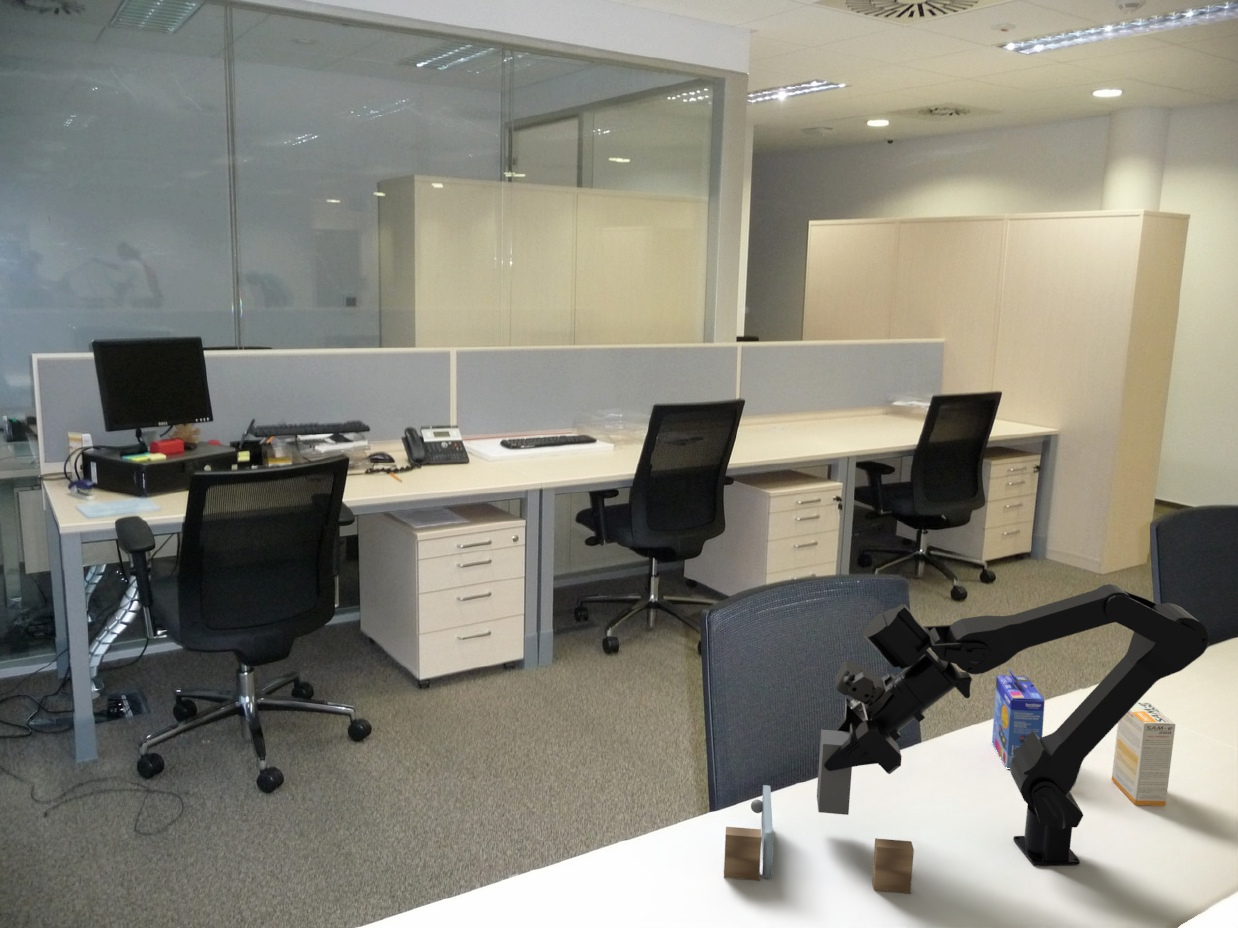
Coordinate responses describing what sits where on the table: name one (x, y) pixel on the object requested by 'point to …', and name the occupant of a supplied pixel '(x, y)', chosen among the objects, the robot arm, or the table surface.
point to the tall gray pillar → (833, 776)
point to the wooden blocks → (887, 866)
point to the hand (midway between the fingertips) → (824, 759)
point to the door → (765, 829)
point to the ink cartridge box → (1015, 714)
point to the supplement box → (1143, 754)
